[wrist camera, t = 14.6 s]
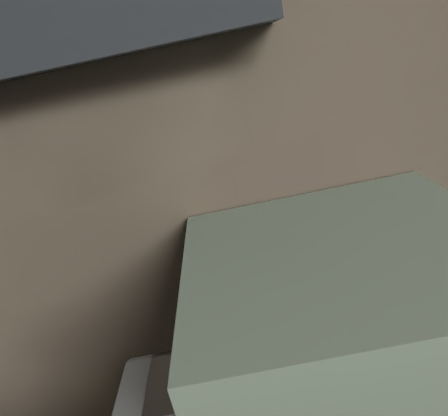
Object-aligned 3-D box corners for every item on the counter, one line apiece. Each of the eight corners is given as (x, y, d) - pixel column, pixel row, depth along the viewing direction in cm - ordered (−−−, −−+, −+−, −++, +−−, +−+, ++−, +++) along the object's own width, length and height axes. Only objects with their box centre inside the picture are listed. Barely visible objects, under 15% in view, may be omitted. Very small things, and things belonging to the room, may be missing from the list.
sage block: (423, 356, 11) (591, 591, 6) (231, 392, 11) (250, 648, 6) (415, 171, 9) (641, 299, 4) (187, 218, 9) (167, 389, 4)
